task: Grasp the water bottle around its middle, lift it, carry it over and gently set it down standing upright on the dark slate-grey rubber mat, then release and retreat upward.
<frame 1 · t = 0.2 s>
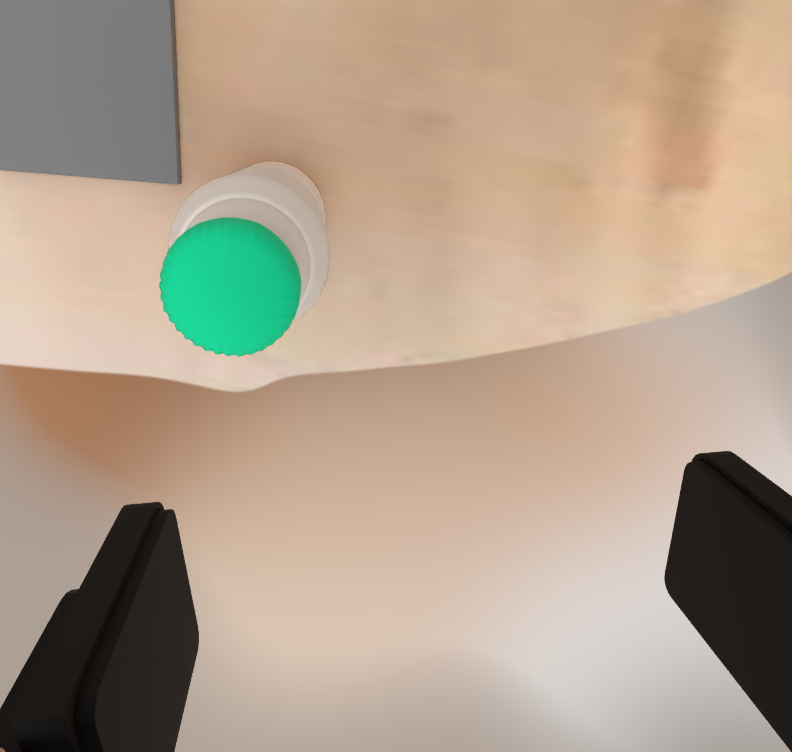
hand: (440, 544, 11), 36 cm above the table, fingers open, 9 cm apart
slate mat: (70, 51, 37), on the table
water bottle: (275, 212, 43), on the table
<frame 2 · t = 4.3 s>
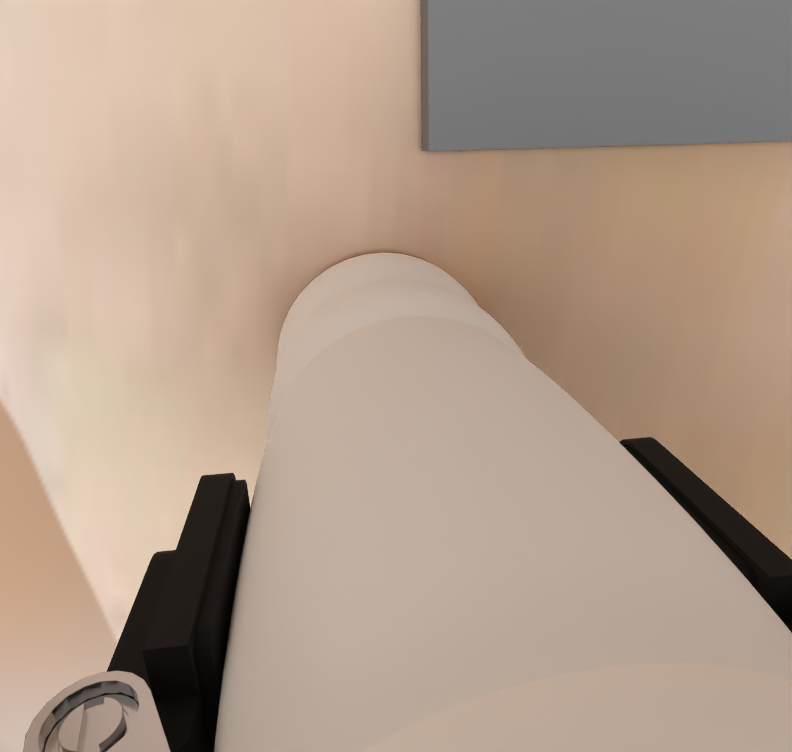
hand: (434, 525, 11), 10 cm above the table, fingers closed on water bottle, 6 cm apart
water bottle: (380, 347, 21), on the table, touching gripper
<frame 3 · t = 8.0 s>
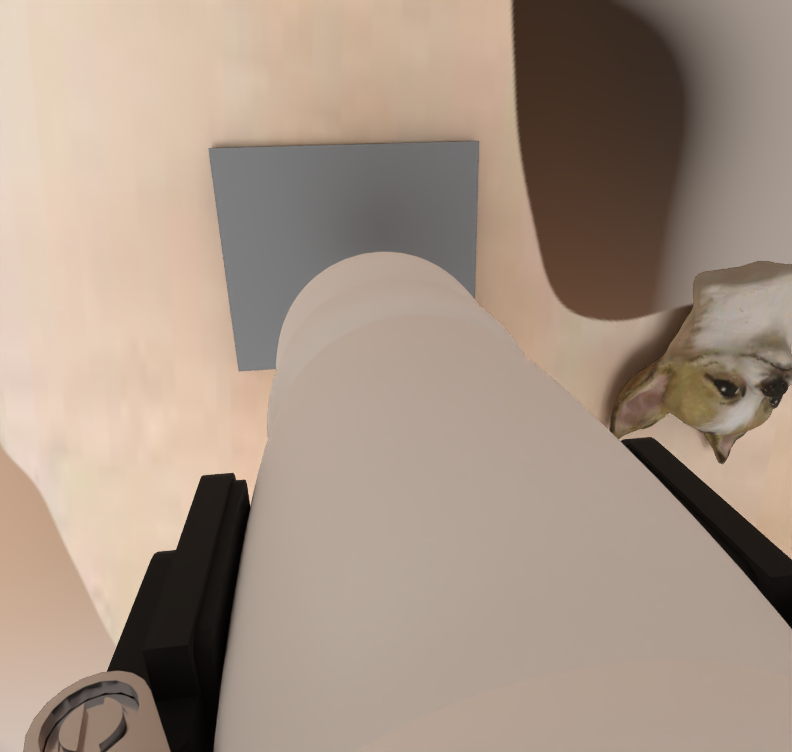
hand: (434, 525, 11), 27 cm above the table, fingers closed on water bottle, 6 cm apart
slate mat: (352, 257, 36), on the table
water bottle: (380, 346, 21), point 17 cm above the table, touching gripper
ceramic sculpture: (688, 348, 42), on the table
when the fingers open (13 cm above the table, at t = 12.0 s): water bottle drops 2 cm, resting on slate mat.
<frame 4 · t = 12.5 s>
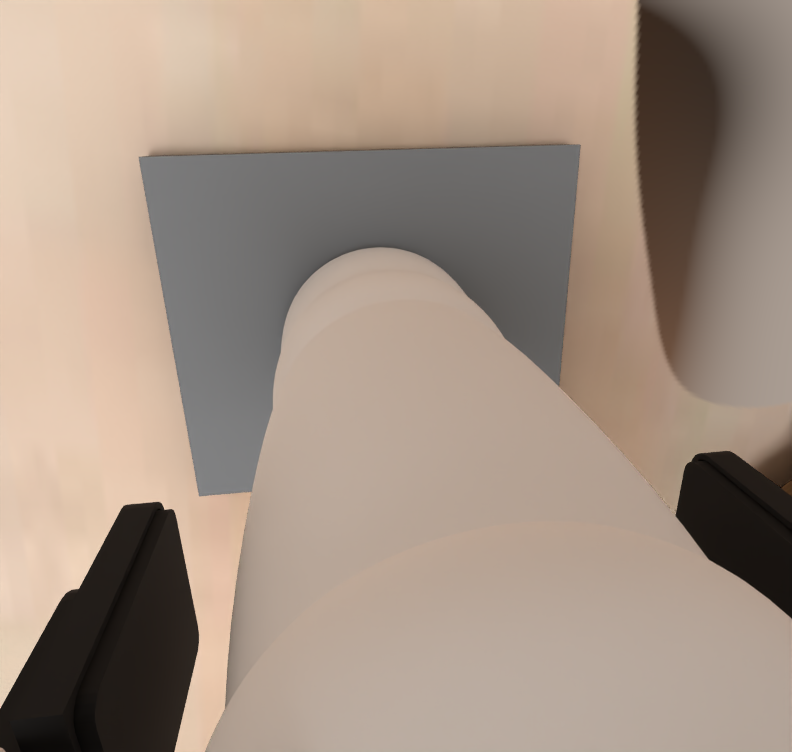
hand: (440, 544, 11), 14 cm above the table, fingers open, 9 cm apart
slate mat: (372, 324, 23), on the table
water bottle: (377, 335, 22), point 1 cm above the table, touching slate mat
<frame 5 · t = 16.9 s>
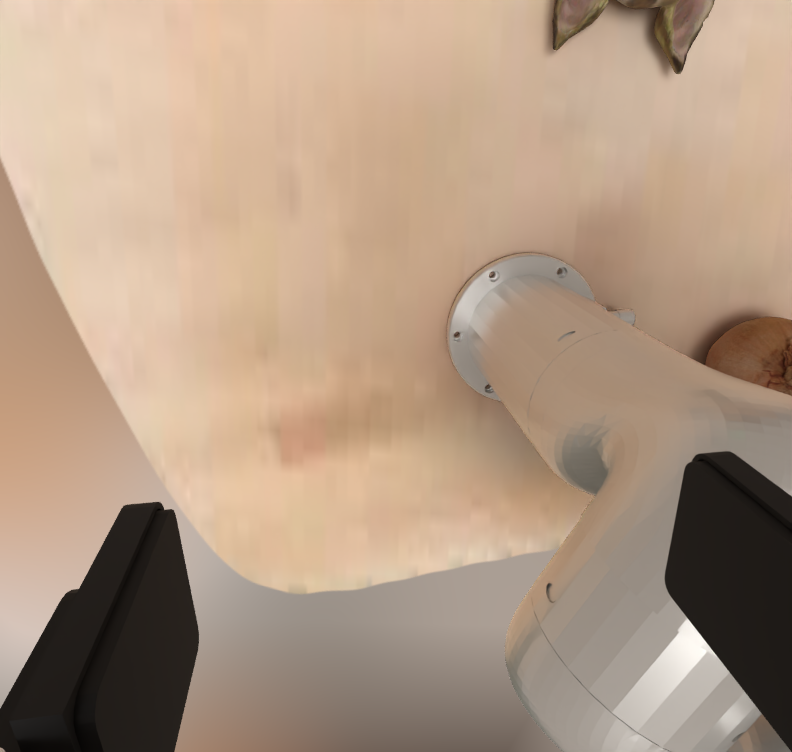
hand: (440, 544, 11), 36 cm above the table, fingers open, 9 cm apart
onion: (731, 356, 52), on the table
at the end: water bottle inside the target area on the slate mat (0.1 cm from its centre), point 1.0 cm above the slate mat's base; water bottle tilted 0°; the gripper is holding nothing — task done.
